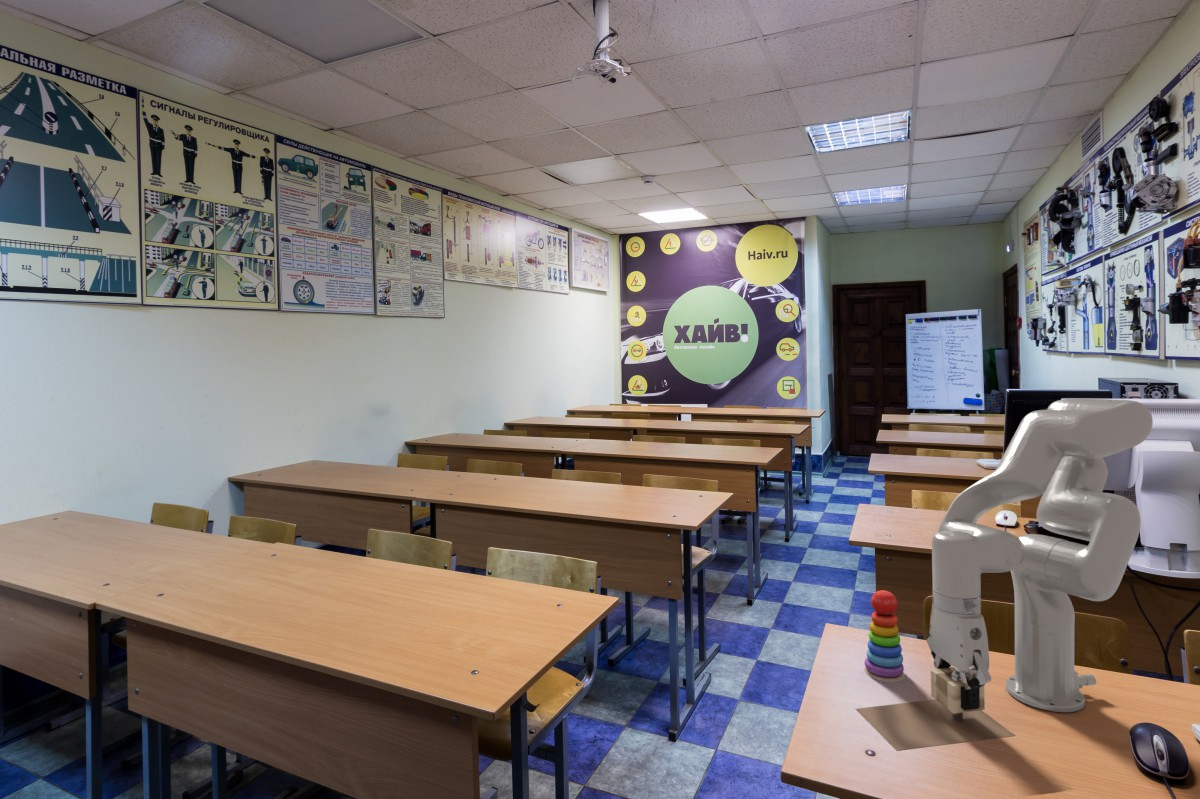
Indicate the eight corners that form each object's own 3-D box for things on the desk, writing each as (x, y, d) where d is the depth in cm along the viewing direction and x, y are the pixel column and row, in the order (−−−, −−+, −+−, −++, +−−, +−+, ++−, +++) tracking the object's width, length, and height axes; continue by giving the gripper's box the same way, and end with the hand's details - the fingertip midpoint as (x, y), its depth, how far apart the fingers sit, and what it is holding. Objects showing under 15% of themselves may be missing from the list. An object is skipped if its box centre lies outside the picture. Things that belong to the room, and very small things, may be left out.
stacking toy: (910, 690, 126) (909, 599, 125) (868, 687, 128) (867, 598, 127) (900, 671, 134) (898, 585, 133) (860, 669, 136) (859, 584, 135)
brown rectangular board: (962, 703, 121) (962, 696, 121) (1015, 743, 108) (1015, 735, 108) (855, 716, 118) (855, 708, 118) (896, 759, 105) (896, 750, 105)
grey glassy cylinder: (958, 715, 115) (957, 667, 114) (965, 720, 113) (964, 672, 112) (949, 716, 114) (948, 668, 114) (956, 721, 113) (955, 673, 112)
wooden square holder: (960, 692, 117) (960, 666, 116) (984, 709, 111) (984, 682, 111) (931, 696, 116) (930, 669, 116) (953, 713, 110) (953, 686, 110)
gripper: (1012, 618, 104) (1013, 723, 105) (943, 583, 121) (944, 673, 122) (971, 622, 103) (972, 728, 104) (907, 586, 120) (908, 677, 121)
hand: (957, 698), depth 113 cm, fingers closed on wooden square holder, 5 cm apart
